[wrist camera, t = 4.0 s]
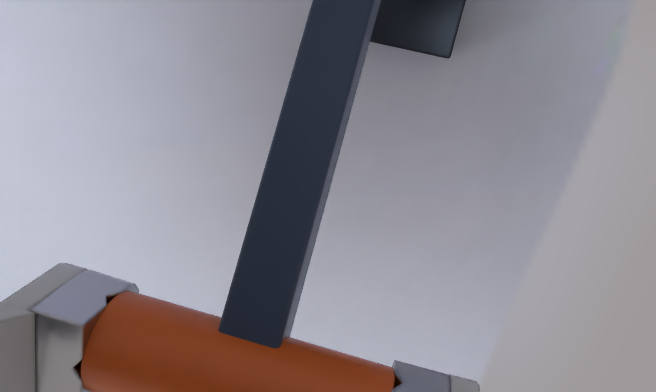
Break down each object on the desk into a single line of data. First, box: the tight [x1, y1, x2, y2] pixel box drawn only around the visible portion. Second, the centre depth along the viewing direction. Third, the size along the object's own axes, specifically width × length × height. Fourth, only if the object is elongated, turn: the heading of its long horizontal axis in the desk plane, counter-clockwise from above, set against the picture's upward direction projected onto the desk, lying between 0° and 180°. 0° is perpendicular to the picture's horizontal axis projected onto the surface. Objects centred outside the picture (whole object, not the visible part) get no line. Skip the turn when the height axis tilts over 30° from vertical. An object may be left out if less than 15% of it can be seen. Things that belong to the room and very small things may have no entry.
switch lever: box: [81, 0, 395, 392], centre depth 10 cm, size 13×5×2 cm, turn 169°
